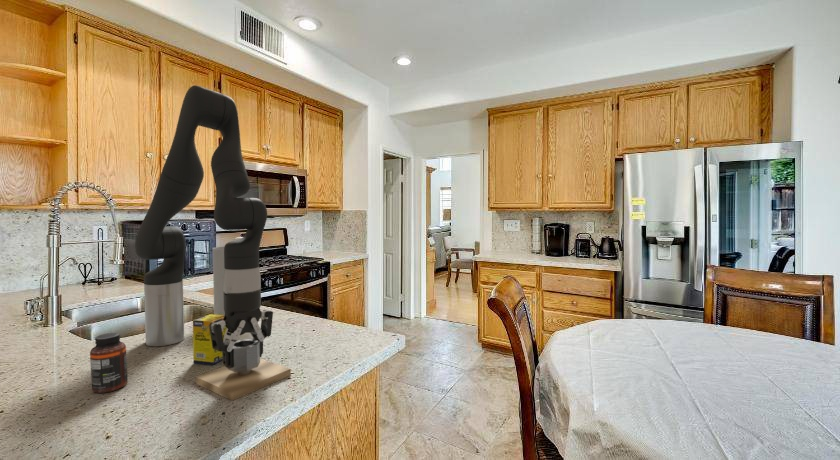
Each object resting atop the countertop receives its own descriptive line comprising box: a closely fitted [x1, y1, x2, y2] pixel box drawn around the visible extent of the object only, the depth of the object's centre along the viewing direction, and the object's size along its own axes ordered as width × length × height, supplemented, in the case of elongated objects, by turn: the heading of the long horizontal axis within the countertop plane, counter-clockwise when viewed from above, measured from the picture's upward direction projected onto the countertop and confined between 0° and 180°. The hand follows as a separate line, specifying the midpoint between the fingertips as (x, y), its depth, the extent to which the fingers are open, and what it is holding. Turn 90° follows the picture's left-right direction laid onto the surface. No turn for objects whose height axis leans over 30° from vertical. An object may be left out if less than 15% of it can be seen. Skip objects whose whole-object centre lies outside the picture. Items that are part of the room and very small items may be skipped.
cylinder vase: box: [212, 246, 225, 315], centre depth 133 cm, size 12×12×25 cm
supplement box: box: [192, 313, 227, 366], centre depth 95 cm, size 6×6×11 cm
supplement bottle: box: [89, 332, 129, 394], centre depth 80 cm, size 6×6×11 cm
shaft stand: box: [195, 357, 292, 401], centre depth 84 cm, size 14×14×6 cm
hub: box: [227, 339, 261, 372], centre depth 84 cm, size 6×6×5 cm
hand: (243, 361), depth 84 cm, fingers closed on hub, 6 cm apart
